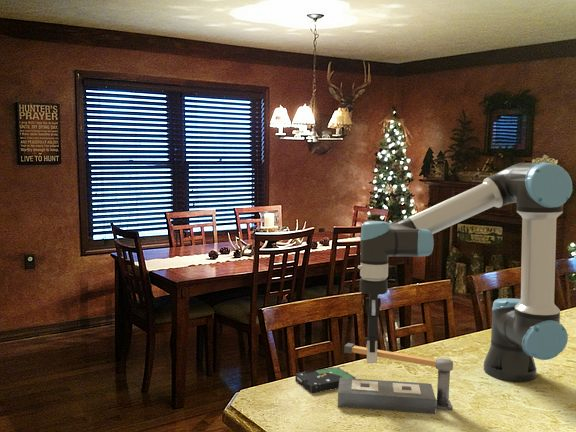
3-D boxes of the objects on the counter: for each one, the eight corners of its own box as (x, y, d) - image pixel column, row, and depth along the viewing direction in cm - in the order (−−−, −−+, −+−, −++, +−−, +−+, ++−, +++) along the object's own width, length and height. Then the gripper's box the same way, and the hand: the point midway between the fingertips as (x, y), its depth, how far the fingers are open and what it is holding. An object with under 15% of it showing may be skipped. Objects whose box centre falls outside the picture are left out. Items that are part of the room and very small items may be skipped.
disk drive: (311, 396, 152) (356, 386, 158) (311, 386, 152) (356, 377, 158) (294, 382, 161) (337, 373, 168) (294, 373, 161) (337, 365, 167)
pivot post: (449, 403, 147) (451, 367, 146) (452, 410, 143) (453, 373, 142) (432, 402, 148) (434, 366, 147) (435, 409, 143) (436, 372, 142)
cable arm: (454, 367, 145) (454, 359, 145) (451, 372, 141) (451, 365, 141) (348, 348, 158) (348, 342, 158) (343, 353, 154) (343, 346, 154)
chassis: (430, 397, 150) (431, 381, 150) (435, 414, 140) (435, 397, 140) (339, 391, 154) (339, 375, 153) (337, 406, 144) (338, 390, 143)
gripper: (359, 273, 156) (358, 353, 158) (359, 282, 143) (357, 370, 145) (386, 273, 155) (384, 355, 157) (388, 283, 142) (386, 371, 144)
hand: (371, 362), depth 151 cm, fingers closed
